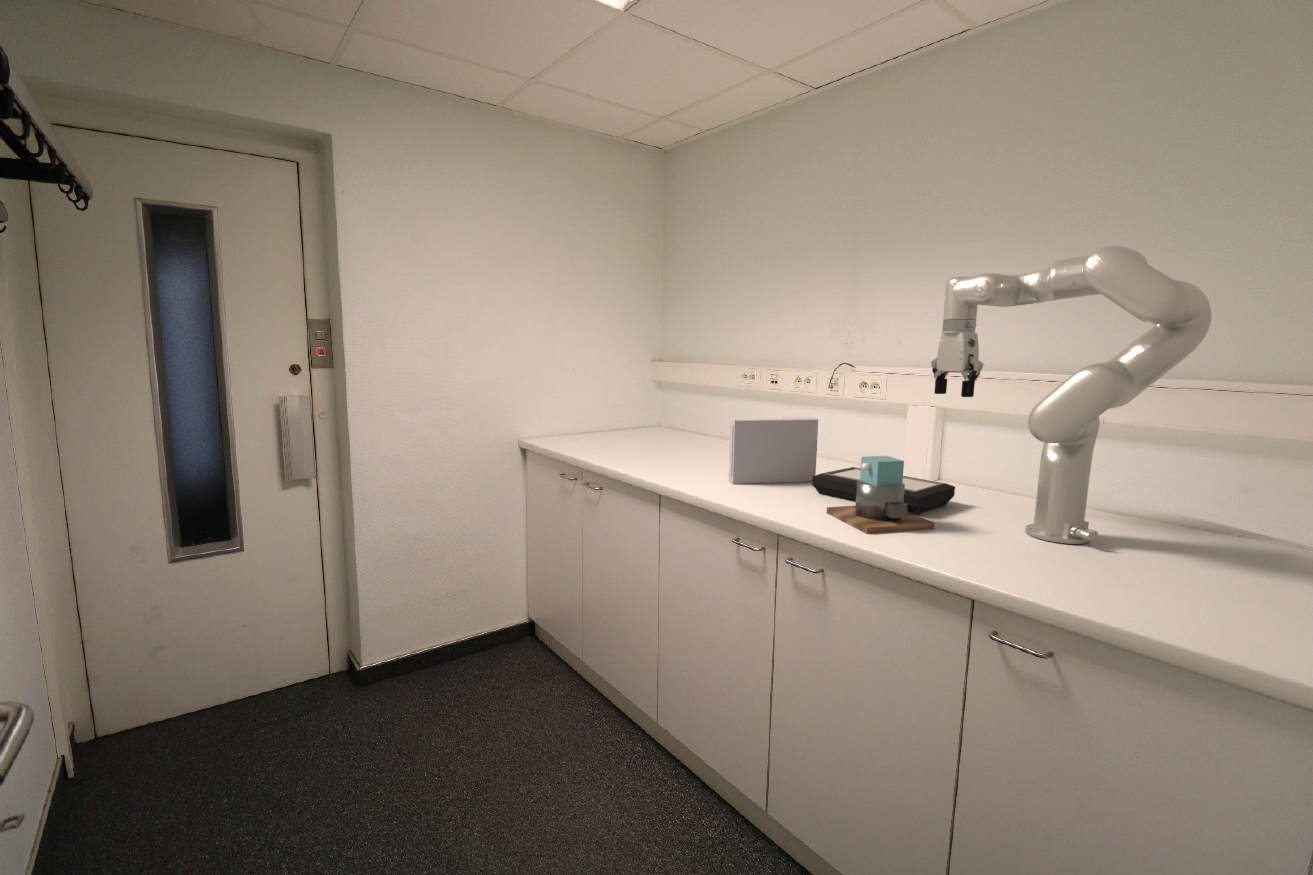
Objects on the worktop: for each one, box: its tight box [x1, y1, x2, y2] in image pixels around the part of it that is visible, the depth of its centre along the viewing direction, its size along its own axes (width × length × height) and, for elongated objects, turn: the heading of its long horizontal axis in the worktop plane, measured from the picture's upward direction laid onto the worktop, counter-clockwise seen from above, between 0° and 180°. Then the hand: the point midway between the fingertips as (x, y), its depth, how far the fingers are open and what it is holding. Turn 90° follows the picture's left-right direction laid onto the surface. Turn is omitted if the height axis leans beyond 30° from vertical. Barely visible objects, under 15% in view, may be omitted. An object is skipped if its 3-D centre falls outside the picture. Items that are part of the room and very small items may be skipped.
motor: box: [854, 479, 908, 521], centre depth 150 cm, size 14×11×10 cm
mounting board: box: [826, 505, 935, 535], centre depth 152 cm, size 18×18×2 cm
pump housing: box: [860, 455, 905, 487], centre depth 150 cm, size 7×9×6 cm
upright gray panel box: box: [728, 417, 819, 485], centre depth 194 cm, size 6×27×20 cm, turn 100°
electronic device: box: [811, 466, 956, 516], centre depth 173 cm, size 32×6×20 cm
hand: (953, 395), depth 158 cm, fingers open, 9 cm apart
